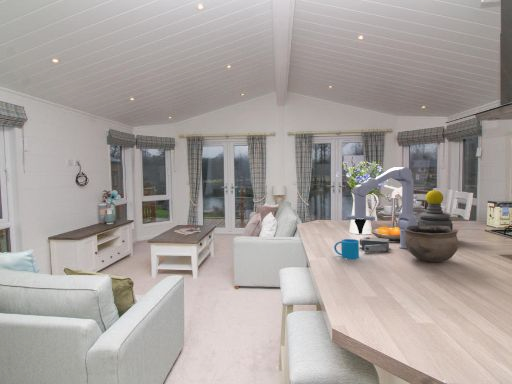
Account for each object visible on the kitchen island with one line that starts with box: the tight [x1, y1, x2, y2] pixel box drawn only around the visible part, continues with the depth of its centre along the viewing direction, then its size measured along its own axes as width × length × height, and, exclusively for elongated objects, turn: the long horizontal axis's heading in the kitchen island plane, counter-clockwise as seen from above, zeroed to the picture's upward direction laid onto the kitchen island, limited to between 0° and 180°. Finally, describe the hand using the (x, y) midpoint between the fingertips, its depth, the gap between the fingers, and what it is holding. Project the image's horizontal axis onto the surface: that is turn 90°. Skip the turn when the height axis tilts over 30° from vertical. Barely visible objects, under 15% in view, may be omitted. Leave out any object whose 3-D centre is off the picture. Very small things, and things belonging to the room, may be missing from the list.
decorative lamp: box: [417, 189, 454, 231], centre depth 186 cm, size 19×19×30 cm
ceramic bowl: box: [404, 225, 459, 263], centre depth 146 cm, size 22×22×15 cm
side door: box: [363, 244, 389, 254], centre depth 163 cm, size 13×2×4 cm, turn 98°
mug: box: [333, 238, 360, 260], centre depth 156 cm, size 12×8×8 cm
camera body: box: [359, 236, 390, 251], centre depth 171 cm, size 15×8×6 cm, turn 63°
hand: (360, 233), depth 165 cm, fingers closed
